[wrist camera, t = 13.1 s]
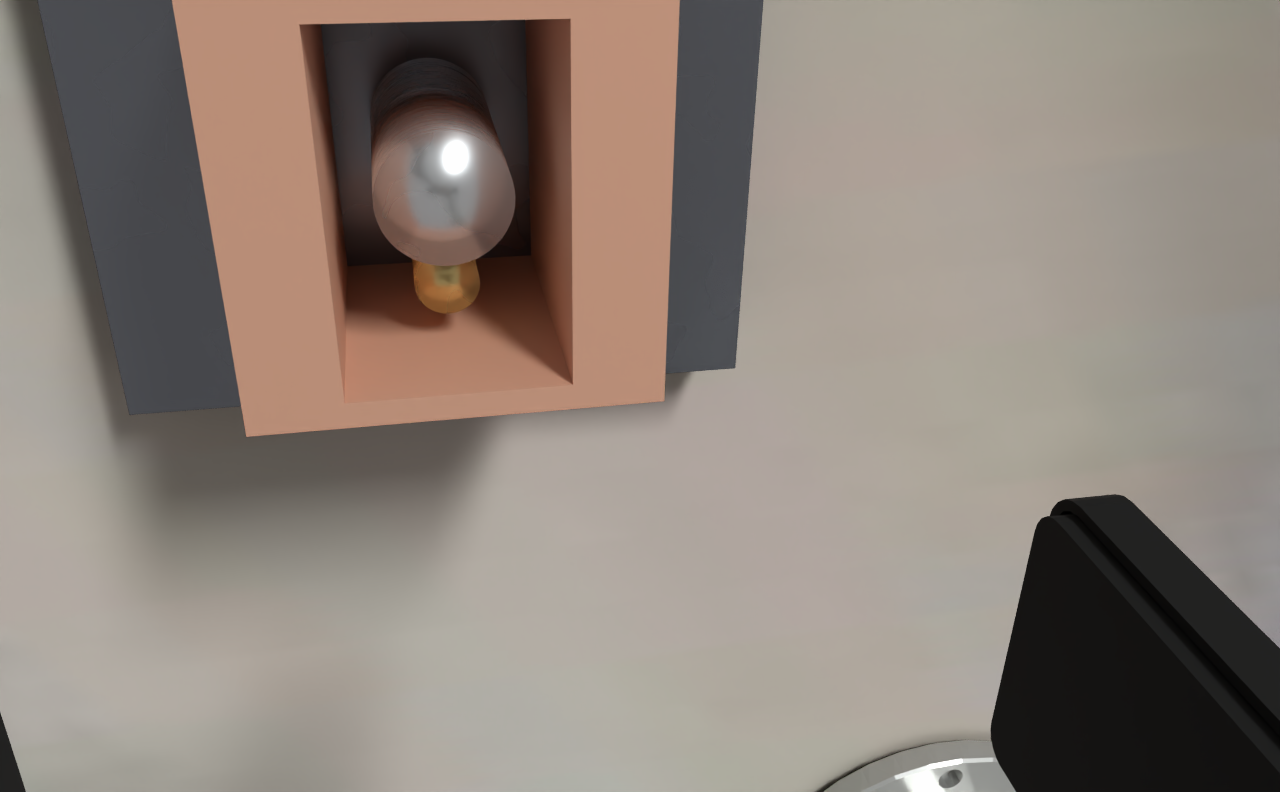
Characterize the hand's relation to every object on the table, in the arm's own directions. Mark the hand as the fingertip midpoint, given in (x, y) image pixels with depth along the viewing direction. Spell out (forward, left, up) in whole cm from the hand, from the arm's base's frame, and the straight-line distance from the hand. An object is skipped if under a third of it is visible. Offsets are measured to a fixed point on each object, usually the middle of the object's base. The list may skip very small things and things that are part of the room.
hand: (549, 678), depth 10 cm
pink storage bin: (0, 0, -16) cm, 16 cm away
